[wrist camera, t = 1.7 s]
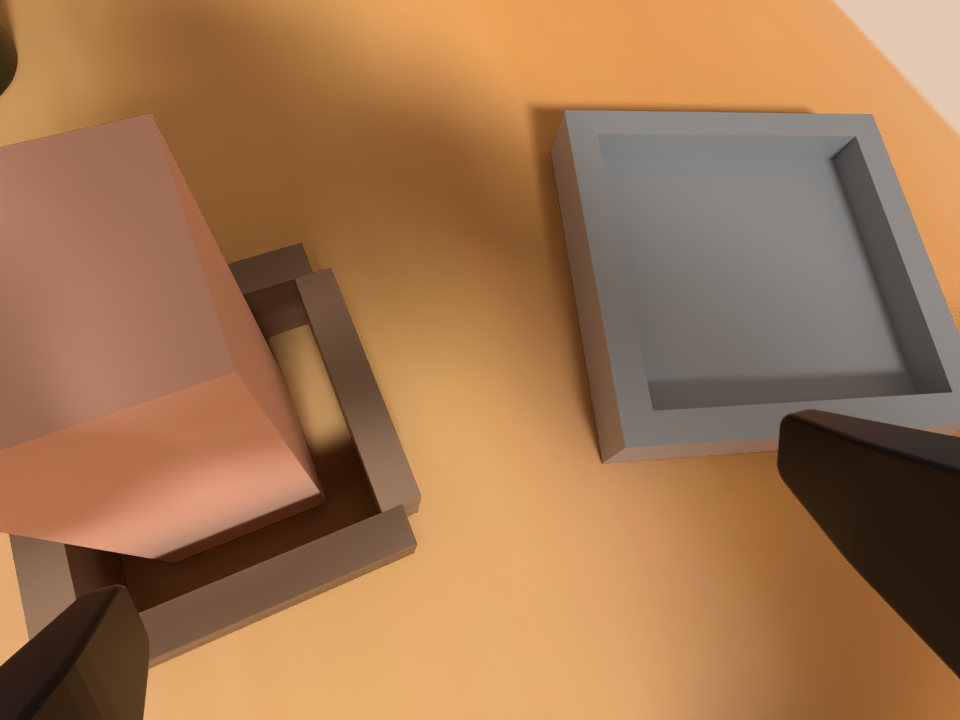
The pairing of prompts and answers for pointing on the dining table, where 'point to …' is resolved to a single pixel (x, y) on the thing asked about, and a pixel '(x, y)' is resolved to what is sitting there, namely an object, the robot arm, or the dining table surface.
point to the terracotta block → (132, 359)
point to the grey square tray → (746, 279)
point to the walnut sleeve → (294, 574)
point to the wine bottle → (6, 60)
